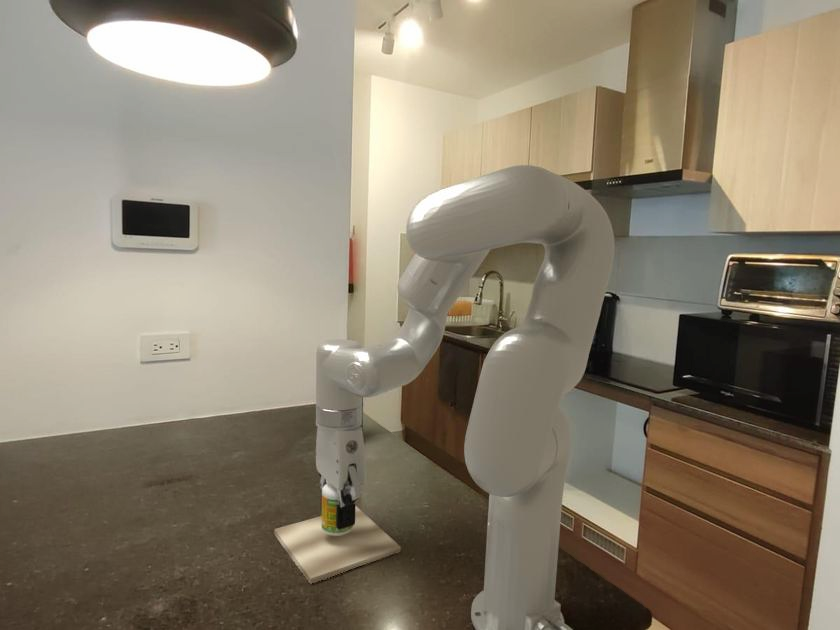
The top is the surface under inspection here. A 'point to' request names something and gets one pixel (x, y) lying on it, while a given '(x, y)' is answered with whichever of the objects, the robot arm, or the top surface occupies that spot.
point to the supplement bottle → (332, 510)
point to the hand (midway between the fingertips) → (337, 517)
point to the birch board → (334, 546)
